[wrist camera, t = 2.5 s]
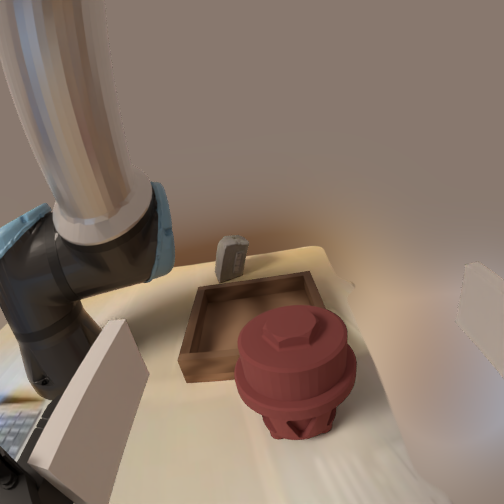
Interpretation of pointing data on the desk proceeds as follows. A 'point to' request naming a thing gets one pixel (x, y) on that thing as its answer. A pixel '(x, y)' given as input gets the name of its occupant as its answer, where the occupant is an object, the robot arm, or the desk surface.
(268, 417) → the mechanical component
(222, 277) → the mineral specimen
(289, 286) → the walnut tray
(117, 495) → the desk surface
